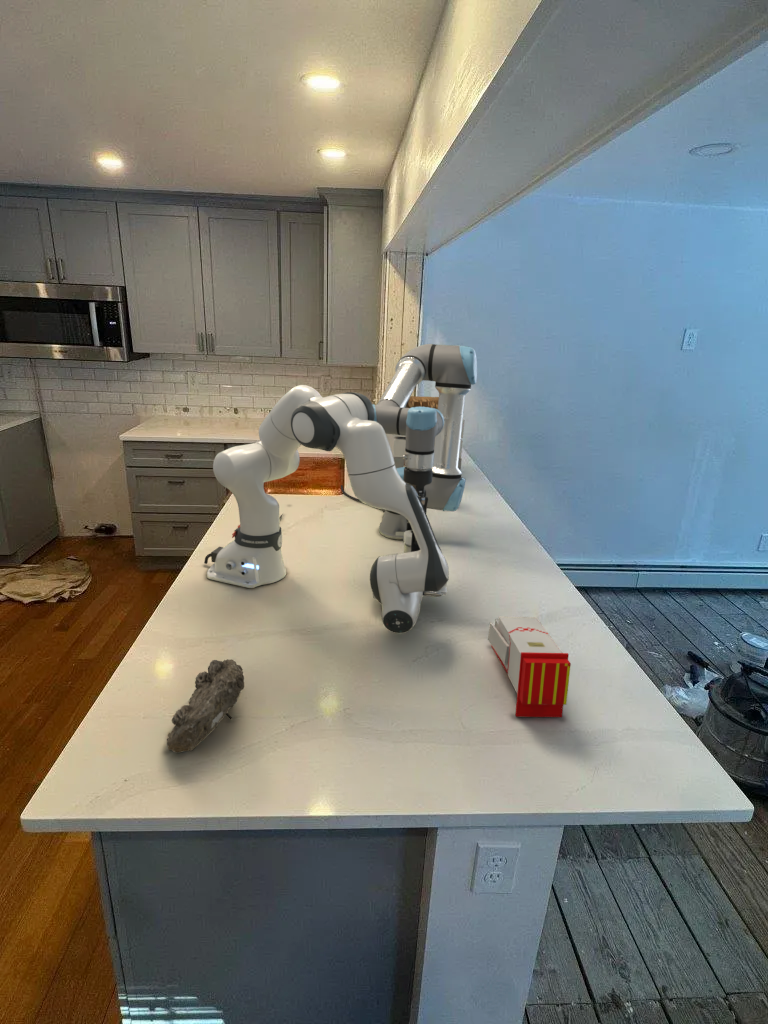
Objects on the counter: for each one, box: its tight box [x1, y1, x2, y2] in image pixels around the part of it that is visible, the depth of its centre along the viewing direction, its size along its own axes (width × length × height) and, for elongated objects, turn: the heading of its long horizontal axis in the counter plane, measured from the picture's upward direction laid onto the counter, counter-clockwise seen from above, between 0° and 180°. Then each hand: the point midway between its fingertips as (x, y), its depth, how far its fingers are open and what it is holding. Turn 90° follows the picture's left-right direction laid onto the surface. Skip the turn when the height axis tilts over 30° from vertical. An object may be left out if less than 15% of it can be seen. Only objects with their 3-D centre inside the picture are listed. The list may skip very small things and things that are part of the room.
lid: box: [402, 530, 412, 545], centre depth 154 cm, size 6×6×2 cm
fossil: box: [166, 658, 245, 754], centre depth 106 cm, size 22×10×15 cm
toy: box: [487, 616, 572, 718], centre depth 123 cm, size 12×13×30 cm
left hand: (411, 568), depth 159 cm, fingers closed on jar, 5 cm apart
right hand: (413, 549), depth 156 cm, fingers closed on lid, 5 cm apart
